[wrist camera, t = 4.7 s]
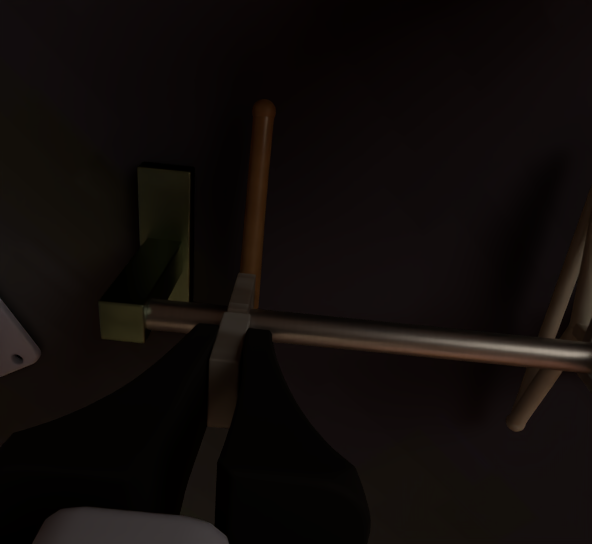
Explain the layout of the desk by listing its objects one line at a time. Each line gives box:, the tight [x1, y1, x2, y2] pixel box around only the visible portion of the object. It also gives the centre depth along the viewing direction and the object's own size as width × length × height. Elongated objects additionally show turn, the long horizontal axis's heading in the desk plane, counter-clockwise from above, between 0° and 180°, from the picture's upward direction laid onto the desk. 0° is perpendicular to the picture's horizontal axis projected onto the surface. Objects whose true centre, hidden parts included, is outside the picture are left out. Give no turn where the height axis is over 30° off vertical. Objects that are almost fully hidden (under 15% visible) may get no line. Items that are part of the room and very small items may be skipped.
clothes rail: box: [98, 162, 592, 374], centre depth 19 cm, size 7×21×6 cm, turn 84°
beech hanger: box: [207, 99, 276, 428], centre depth 17 cm, size 13×1×8 cm, turn 174°
